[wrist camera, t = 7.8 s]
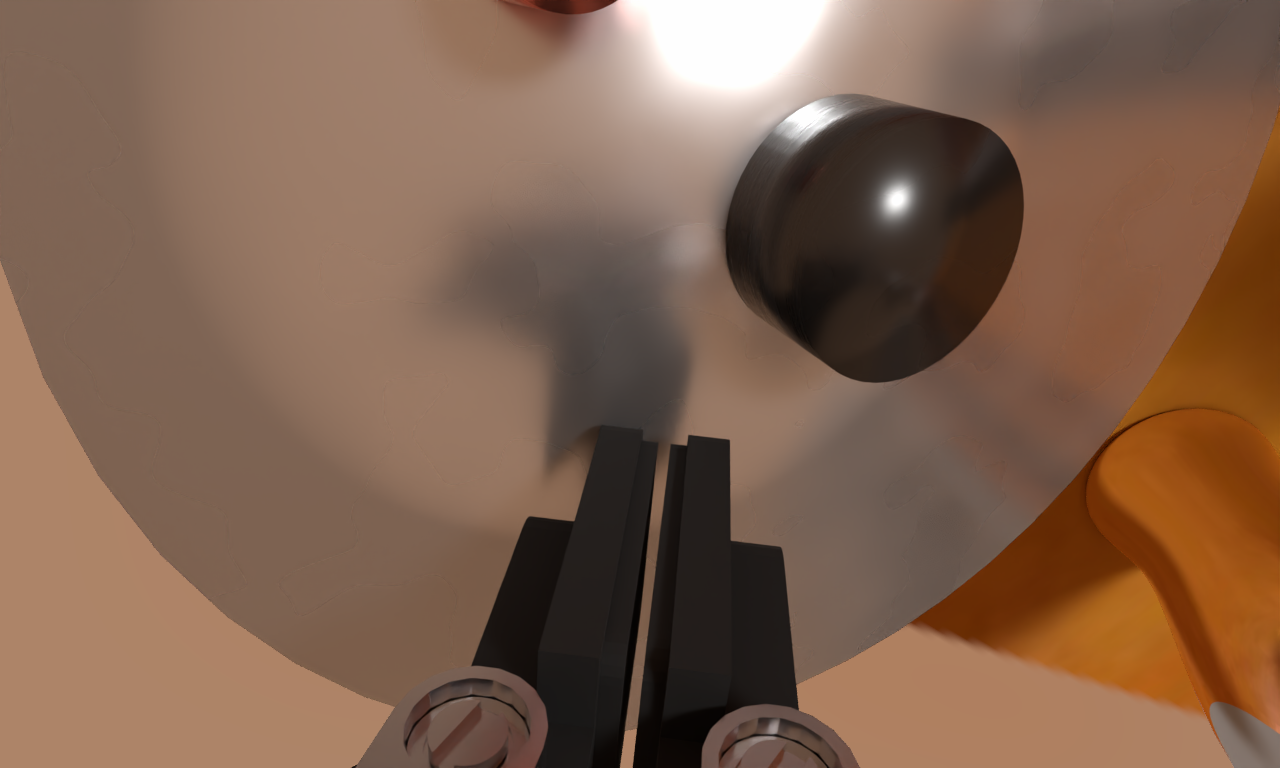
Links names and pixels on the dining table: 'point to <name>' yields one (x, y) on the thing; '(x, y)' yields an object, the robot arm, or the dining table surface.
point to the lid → (606, 279)
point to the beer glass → (1206, 559)
